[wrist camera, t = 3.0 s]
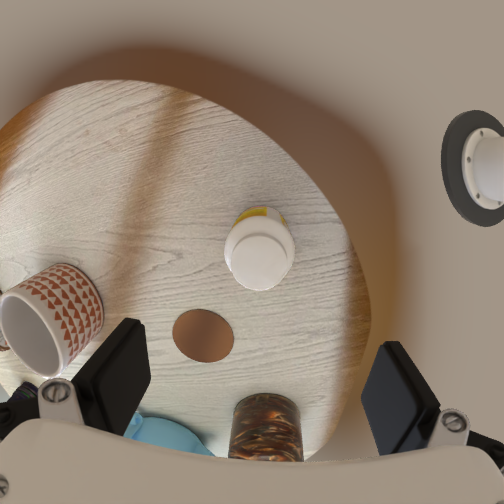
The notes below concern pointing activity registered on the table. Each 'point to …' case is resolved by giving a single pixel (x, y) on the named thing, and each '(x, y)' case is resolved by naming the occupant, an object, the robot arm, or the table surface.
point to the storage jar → (24, 392)
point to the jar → (266, 430)
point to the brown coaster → (203, 336)
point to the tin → (3, 339)
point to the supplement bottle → (259, 248)
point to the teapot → (164, 434)
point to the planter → (51, 318)
